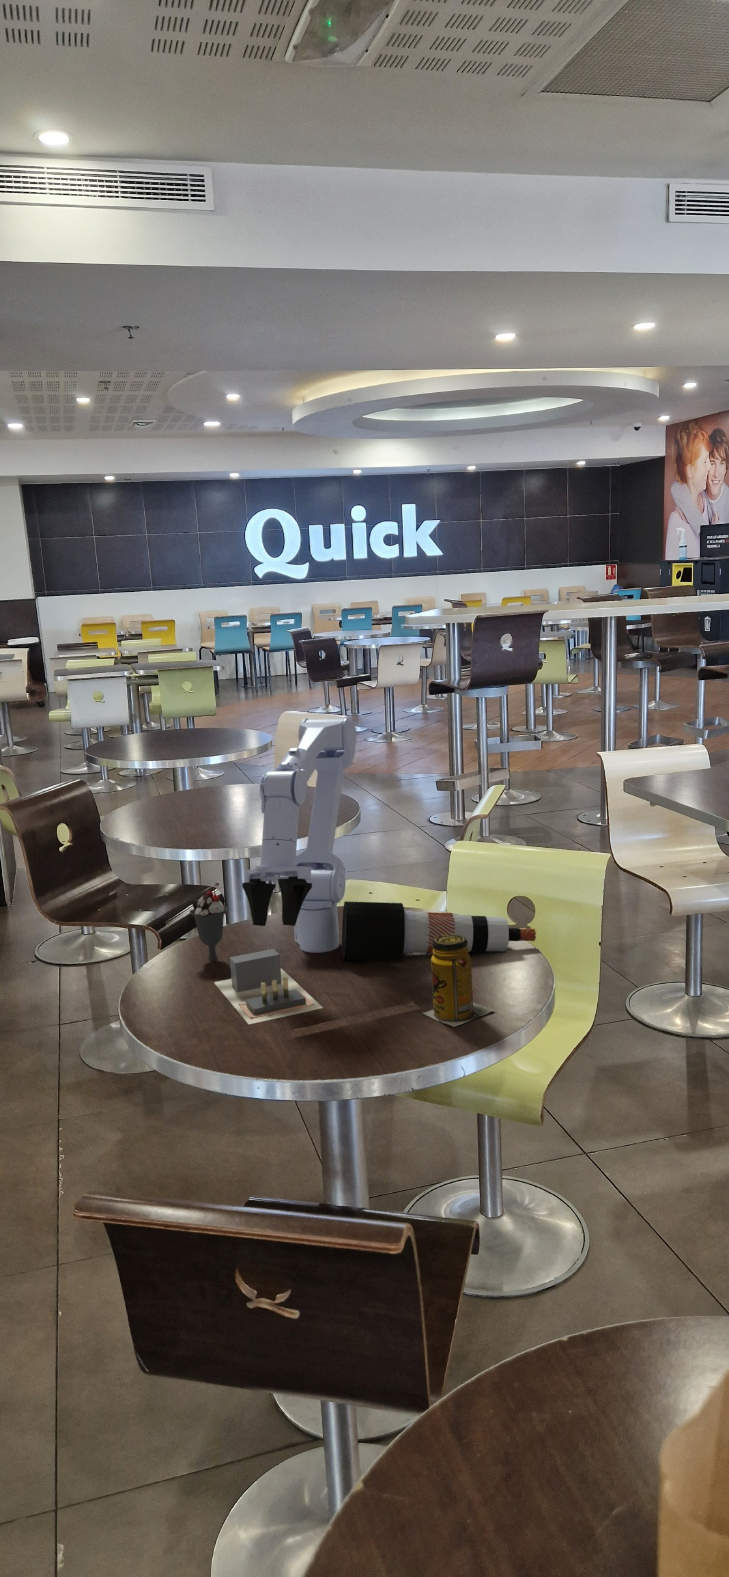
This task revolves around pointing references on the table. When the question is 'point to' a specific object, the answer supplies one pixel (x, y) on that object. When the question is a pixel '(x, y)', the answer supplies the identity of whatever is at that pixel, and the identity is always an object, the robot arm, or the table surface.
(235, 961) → the block
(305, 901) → the robot arm
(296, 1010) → the board
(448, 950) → the condiment
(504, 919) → the striped banded cylinder
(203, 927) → the sundae
